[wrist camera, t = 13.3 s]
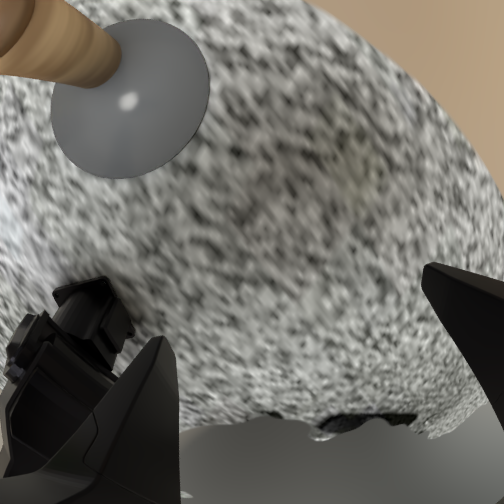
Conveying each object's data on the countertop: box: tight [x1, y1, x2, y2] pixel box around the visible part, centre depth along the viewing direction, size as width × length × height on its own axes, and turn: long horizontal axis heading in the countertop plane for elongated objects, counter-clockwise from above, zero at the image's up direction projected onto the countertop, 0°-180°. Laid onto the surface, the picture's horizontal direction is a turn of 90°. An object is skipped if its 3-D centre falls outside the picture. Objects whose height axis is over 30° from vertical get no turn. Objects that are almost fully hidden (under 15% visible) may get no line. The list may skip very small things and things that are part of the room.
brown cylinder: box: [0, 0, 122, 89], centre depth 8 cm, size 4×4×12 cm
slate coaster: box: [51, 19, 209, 179], centre depth 15 cm, size 12×12×1 cm
